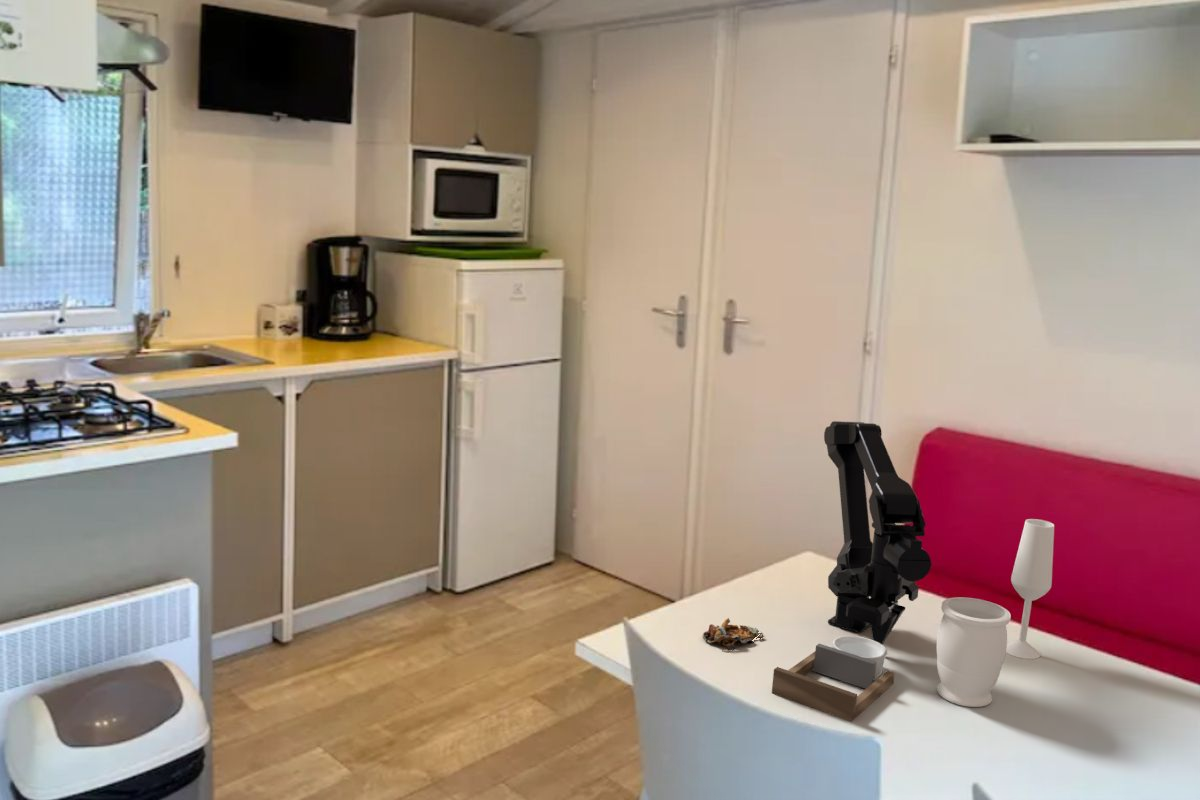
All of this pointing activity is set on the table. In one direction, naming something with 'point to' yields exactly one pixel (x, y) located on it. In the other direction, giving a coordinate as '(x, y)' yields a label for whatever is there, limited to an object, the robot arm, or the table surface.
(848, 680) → the block
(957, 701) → the jar
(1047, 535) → the champagne flute
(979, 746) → the table surface
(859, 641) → the ramekin
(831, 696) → the wooden u-shaped frame
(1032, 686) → the table surface
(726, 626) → the grilled meat platter
